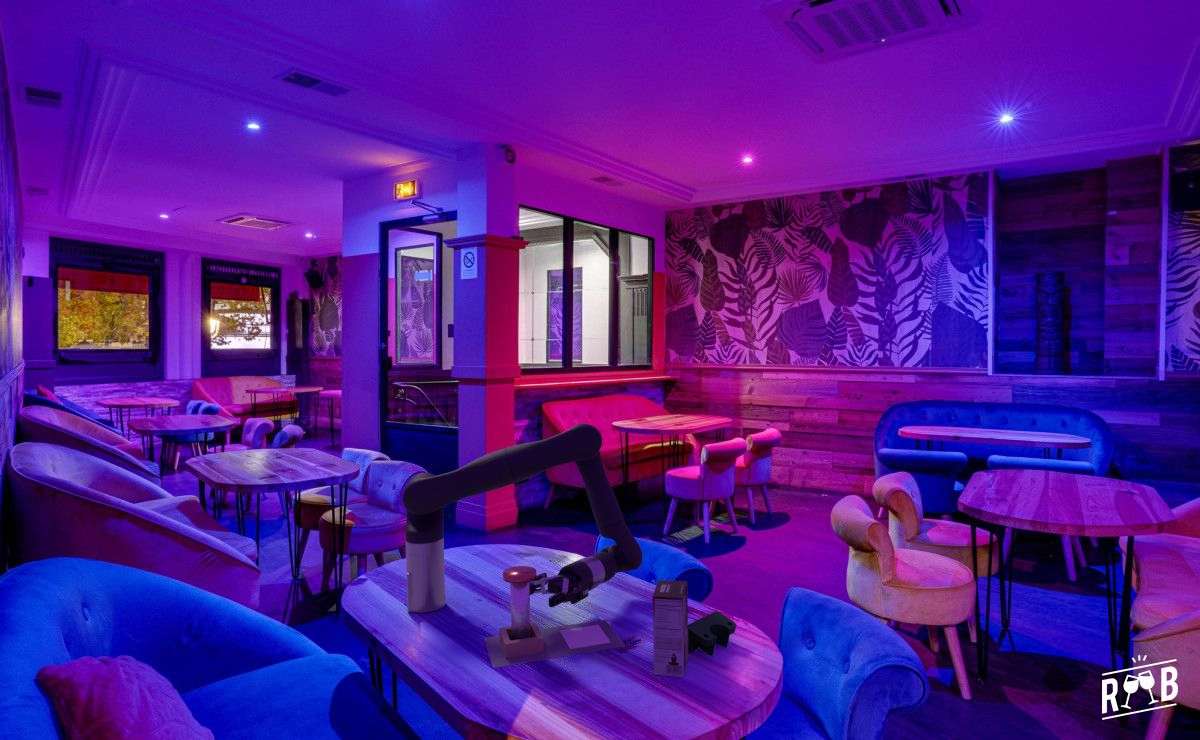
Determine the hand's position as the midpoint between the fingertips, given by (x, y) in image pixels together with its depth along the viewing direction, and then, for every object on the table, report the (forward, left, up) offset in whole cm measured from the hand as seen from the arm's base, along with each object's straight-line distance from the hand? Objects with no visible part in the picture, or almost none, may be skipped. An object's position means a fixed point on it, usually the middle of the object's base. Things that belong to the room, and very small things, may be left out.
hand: (535, 598), depth 142 cm
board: (+3, -3, -11) cm, 11 cm away
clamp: (+35, -13, -11) cm, 39 cm away
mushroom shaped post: (-4, -3, -9) cm, 10 cm away
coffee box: (+24, -18, -11) cm, 32 cm away
